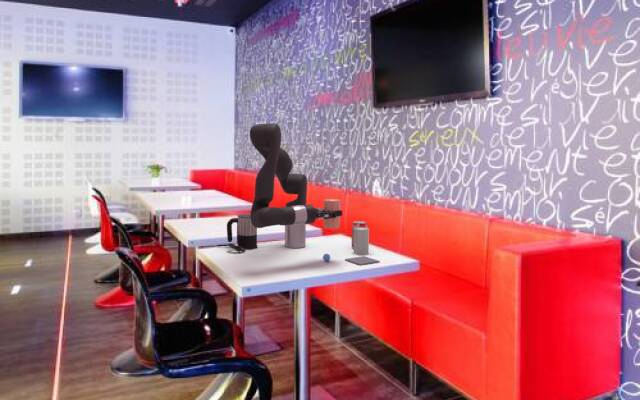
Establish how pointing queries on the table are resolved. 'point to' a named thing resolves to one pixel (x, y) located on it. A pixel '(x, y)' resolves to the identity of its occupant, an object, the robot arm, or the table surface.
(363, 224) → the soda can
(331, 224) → the cup terracotta
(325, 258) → the marble
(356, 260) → the mat
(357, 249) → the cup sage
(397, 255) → the table surface
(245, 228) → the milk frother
